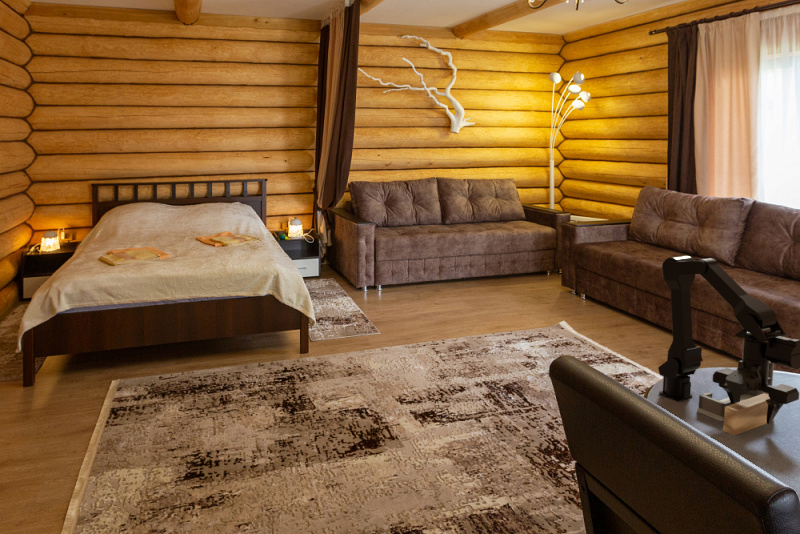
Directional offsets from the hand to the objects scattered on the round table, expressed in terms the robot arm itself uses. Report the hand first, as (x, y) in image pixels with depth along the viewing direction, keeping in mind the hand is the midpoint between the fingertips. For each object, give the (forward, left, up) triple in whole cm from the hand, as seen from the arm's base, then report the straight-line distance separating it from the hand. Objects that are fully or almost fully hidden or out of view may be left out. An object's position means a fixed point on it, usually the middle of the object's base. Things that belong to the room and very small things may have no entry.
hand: (751, 417), depth 155 cm
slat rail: (-9, +7, -2) cm, 12 cm away
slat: (-1, 0, -3) cm, 3 cm away
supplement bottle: (-14, +25, -3) cm, 29 cm away
